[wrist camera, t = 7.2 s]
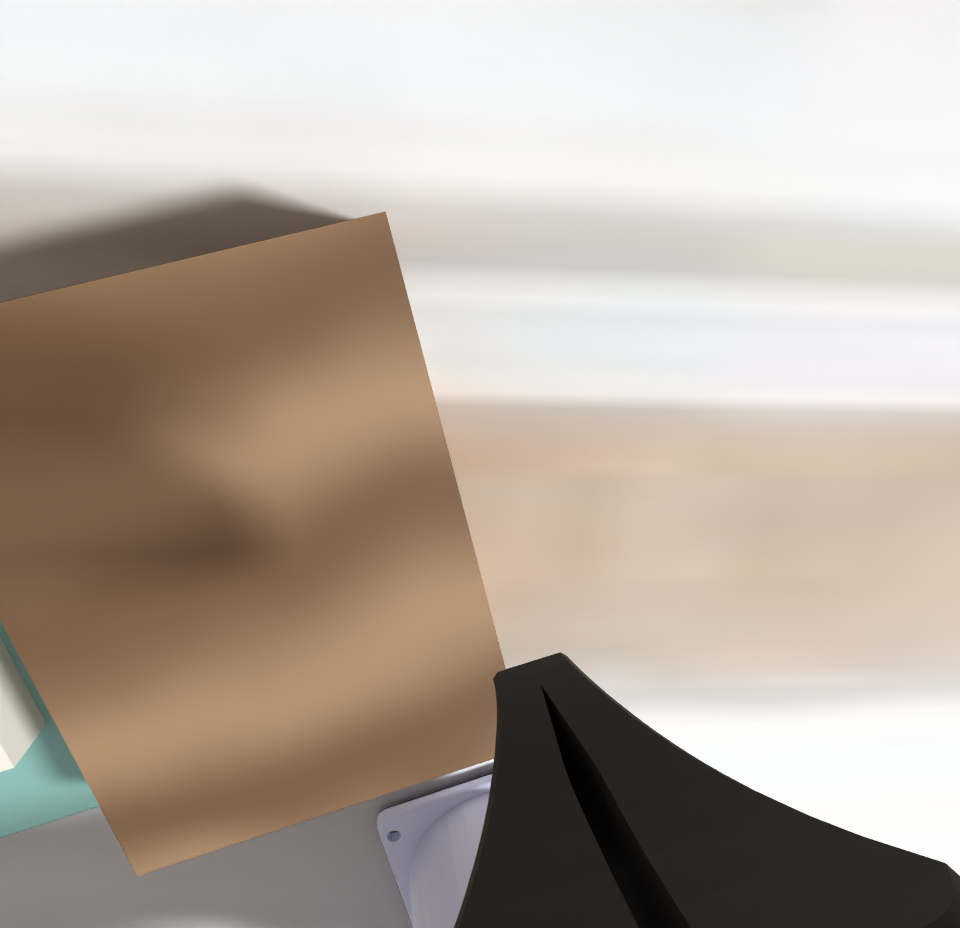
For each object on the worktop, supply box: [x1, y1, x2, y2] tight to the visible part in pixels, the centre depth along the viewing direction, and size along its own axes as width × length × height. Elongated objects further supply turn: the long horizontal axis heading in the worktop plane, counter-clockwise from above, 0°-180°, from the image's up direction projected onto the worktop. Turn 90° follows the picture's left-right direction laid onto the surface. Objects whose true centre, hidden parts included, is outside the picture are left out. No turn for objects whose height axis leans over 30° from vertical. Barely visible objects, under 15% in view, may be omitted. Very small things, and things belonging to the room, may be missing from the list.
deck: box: [0, 212, 506, 876], centre depth 19 cm, size 16×12×4 cm
